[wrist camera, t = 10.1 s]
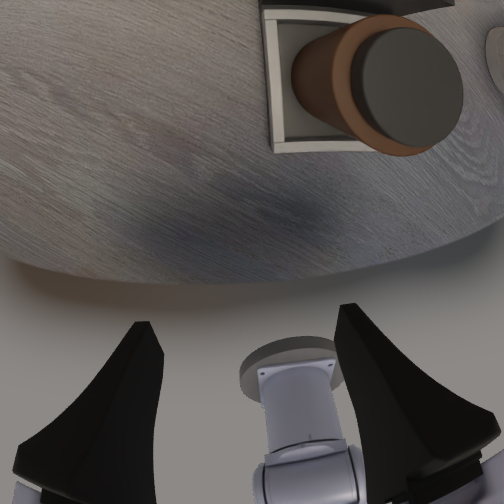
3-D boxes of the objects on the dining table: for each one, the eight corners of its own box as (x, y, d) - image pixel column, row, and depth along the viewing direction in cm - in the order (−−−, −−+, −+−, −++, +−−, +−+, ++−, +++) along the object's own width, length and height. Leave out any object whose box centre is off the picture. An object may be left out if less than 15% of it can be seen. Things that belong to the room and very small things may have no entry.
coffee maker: (390, 144, 16) (452, 180, 11) (269, 145, 16) (288, 183, 11) (383, -20, 10) (444, -46, 4) (254, -33, 10) (266, -86, 4)
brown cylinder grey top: (378, 125, 15) (468, 169, 8) (292, 124, 15) (342, 165, 8) (377, 42, 12) (473, 33, 5) (287, 34, 12) (336, -5, 5)
